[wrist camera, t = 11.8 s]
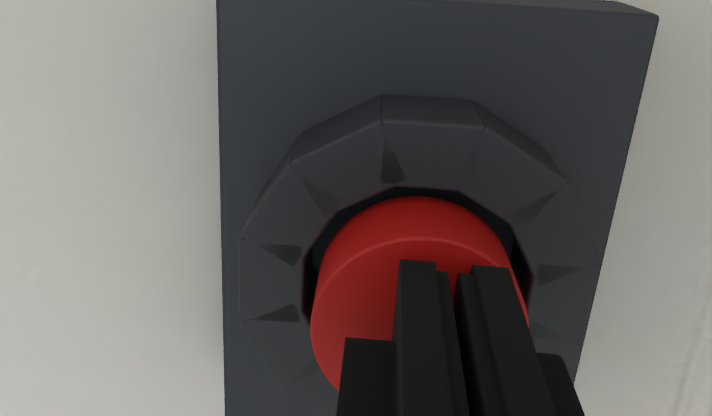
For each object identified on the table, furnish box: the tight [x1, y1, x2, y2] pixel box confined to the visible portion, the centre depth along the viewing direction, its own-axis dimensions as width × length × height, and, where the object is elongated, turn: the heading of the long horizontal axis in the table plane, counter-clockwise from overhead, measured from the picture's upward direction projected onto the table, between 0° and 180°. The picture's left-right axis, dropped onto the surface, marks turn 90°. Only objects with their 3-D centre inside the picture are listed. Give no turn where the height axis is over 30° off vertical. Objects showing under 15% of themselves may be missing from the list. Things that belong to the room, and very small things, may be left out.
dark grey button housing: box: [216, 0, 659, 416], centre depth 14 cm, size 10×8×4 cm
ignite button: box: [310, 196, 529, 391], centre depth 12 cm, size 4×4×2 cm
